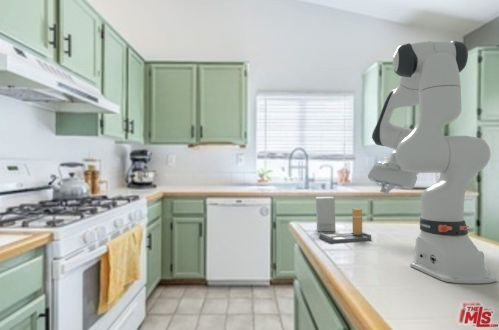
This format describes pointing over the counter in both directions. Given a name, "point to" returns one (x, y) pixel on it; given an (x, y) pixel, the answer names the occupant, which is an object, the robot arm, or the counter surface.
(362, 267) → the counter surface
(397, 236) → the counter surface
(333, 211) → the skincare box
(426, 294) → the counter surface
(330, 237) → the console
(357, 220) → the tan tall block
